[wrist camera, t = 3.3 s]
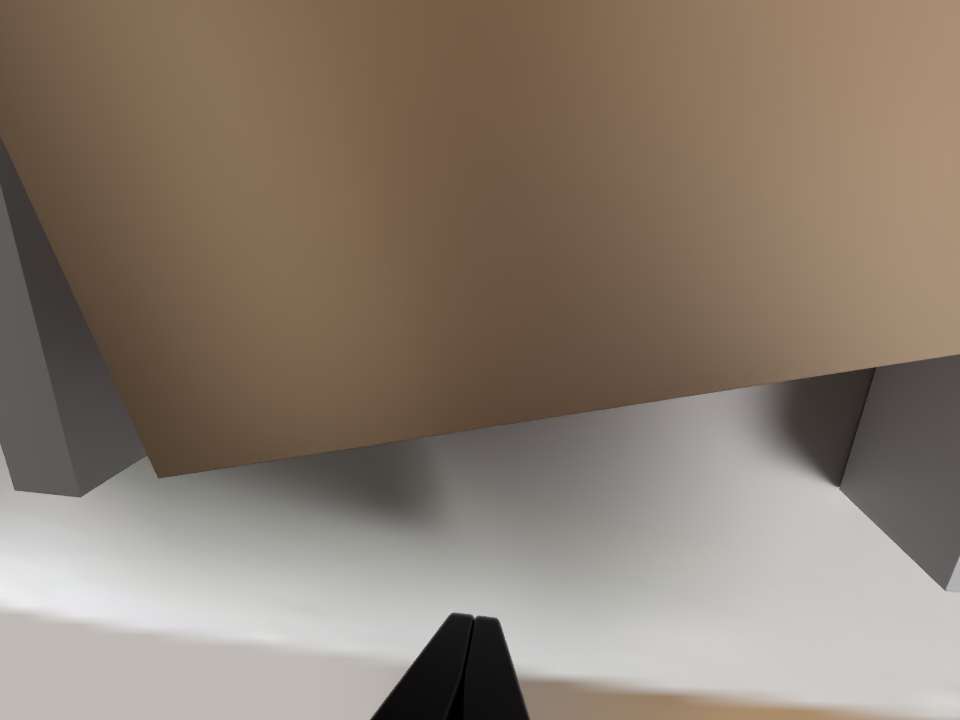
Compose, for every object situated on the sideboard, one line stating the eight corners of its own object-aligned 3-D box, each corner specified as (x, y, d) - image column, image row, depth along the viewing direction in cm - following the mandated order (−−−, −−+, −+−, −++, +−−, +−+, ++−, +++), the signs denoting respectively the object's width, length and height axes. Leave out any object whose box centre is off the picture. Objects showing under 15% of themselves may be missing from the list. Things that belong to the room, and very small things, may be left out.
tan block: (828, -259, 6) (1261, -953, 3) (837, 273, 8) (1092, 333, 4) (168, -18, 8) (-160, -214, 4) (303, 374, 10) (159, 478, 6)
